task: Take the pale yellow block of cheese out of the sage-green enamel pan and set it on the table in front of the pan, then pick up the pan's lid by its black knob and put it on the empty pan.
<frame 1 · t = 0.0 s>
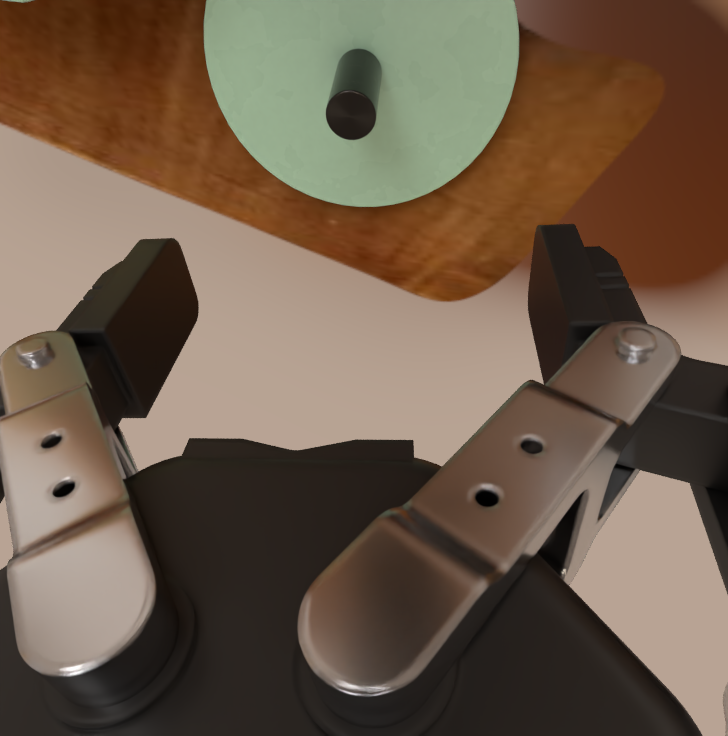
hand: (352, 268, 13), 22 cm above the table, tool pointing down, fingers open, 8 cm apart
pan lid: (360, 68, 30), point 1 cm above the table
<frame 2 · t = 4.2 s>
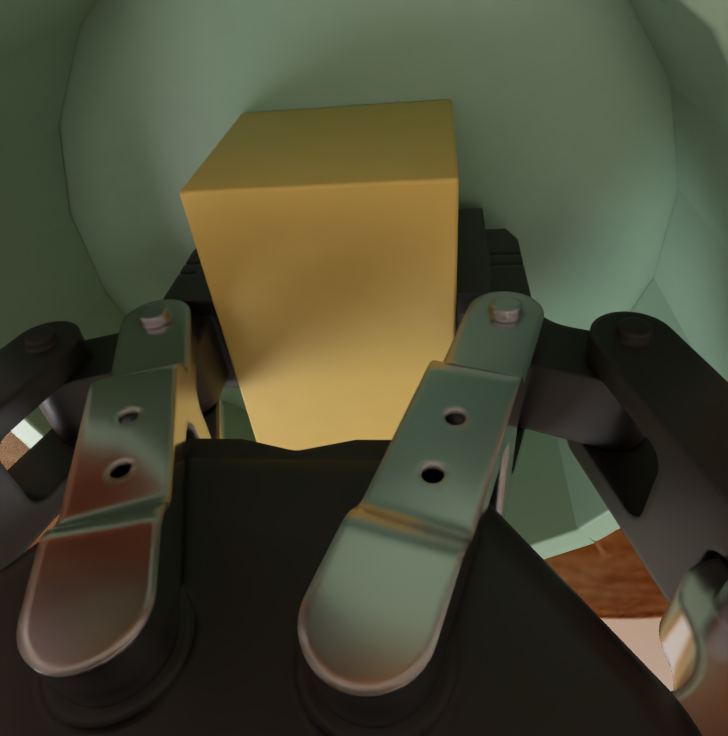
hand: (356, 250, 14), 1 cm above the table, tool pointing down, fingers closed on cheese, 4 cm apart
cheese: (358, 244, 14), resting on pan, touching gripper
pan: (360, 234, 14), on the table
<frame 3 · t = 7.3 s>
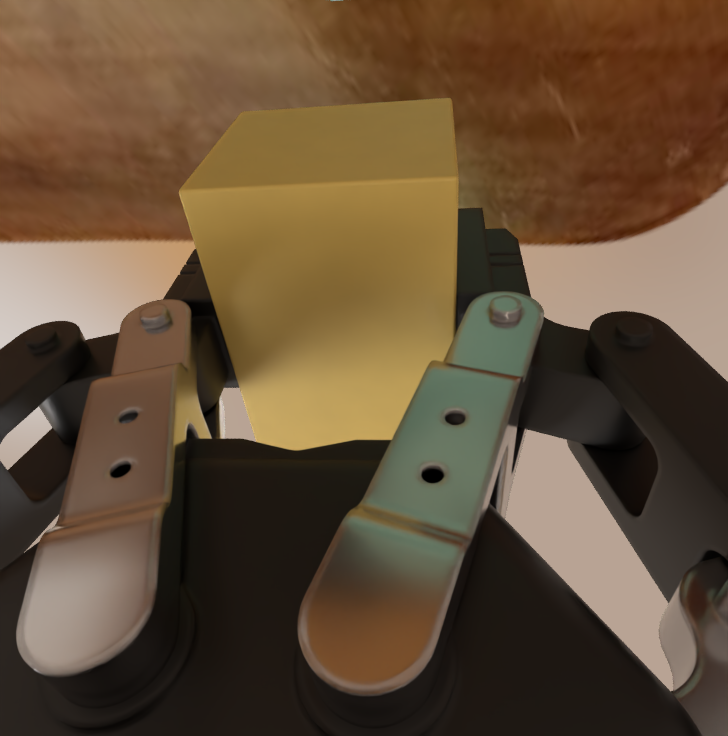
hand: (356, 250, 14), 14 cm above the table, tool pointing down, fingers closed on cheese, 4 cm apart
cheese: (358, 243, 14), point 14 cm above the table, touching gripper
when the fingers open (0 cm above the table, at t = 10.7 s): cheese stays where it is, on the table.
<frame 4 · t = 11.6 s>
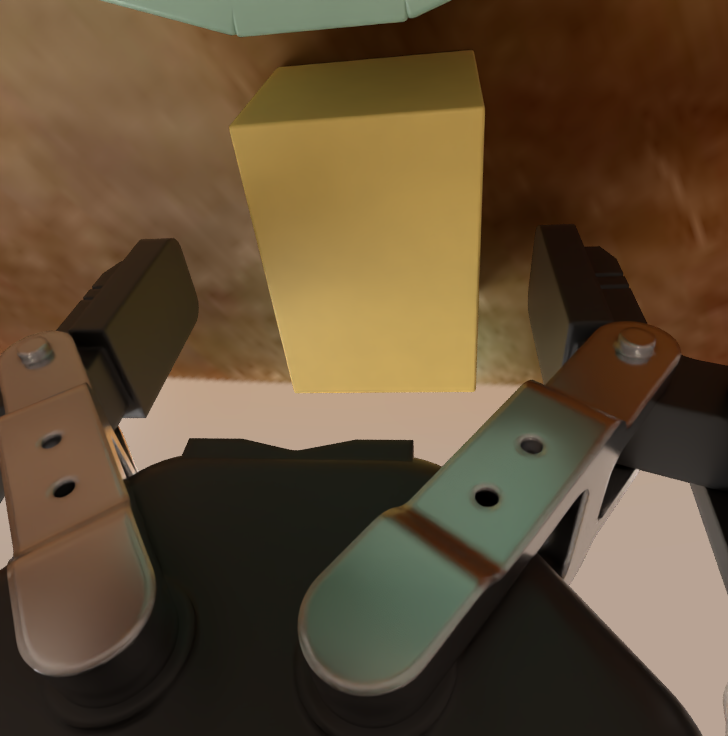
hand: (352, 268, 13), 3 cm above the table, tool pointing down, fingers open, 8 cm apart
cheese: (384, 195, 15), on the table
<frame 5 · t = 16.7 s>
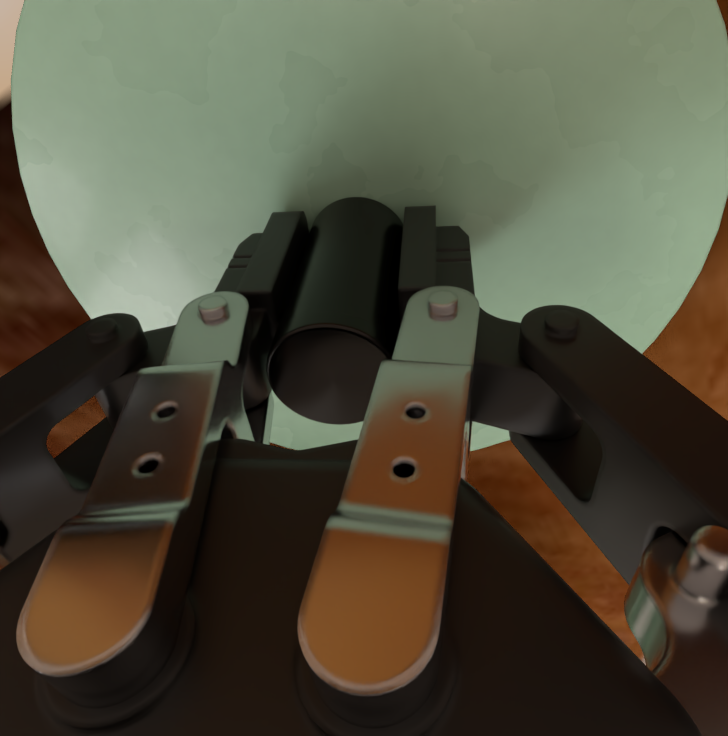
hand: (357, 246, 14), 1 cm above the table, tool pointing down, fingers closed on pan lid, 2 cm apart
pan lid: (360, 232, 14), point 1 cm above the table, touching gripper
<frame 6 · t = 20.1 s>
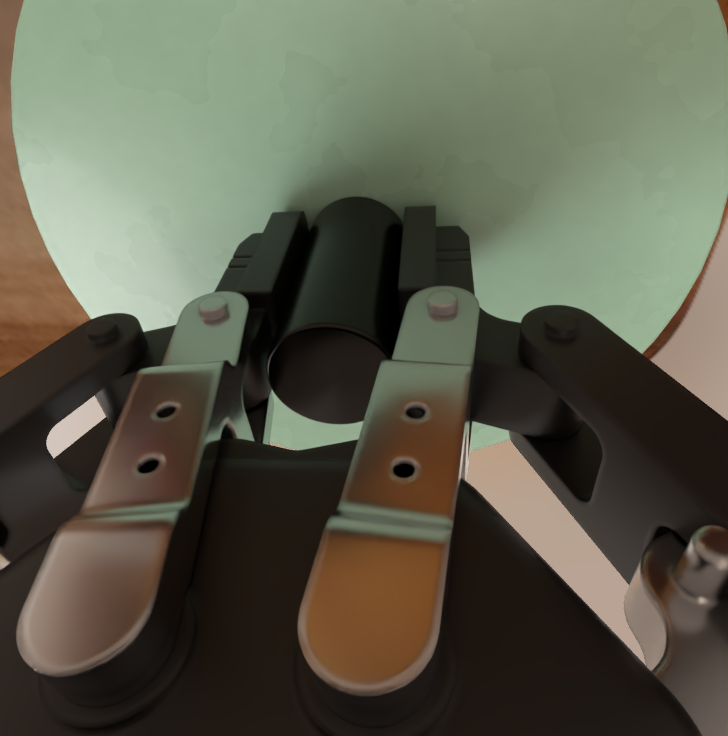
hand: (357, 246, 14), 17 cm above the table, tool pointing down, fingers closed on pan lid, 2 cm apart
pan lid: (360, 232, 14), point 16 cm above the table, touching gripper
when the fingers open (6 cm above the table, at t = 23.6 s): pan lid stays where it is, resting on pan.
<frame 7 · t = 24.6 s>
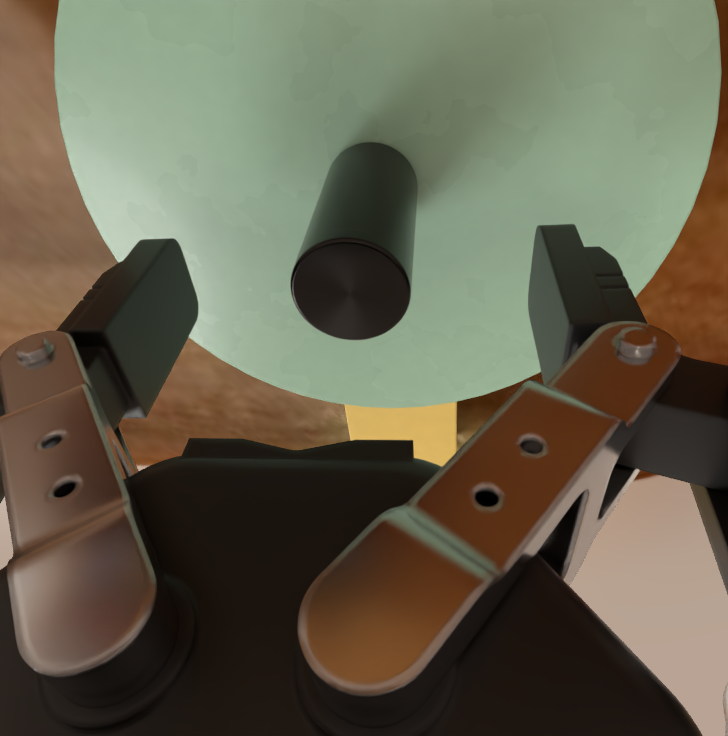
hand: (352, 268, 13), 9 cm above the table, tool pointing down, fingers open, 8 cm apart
cheese: (407, 391, 27), on the table
pan lid: (373, 179, 15), point 5 cm above the table, touching pan
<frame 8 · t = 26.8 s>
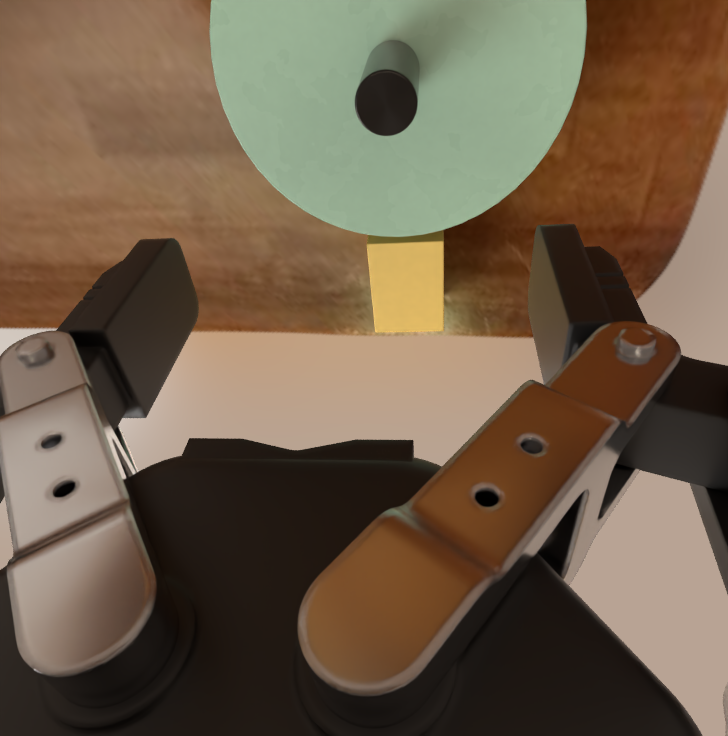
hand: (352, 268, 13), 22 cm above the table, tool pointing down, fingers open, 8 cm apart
cheese: (409, 256, 38), on the table
pan lid: (393, 67, 26), point 5 cm above the table, touching pan
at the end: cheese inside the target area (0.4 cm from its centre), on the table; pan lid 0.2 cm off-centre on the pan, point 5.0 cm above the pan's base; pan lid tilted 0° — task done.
